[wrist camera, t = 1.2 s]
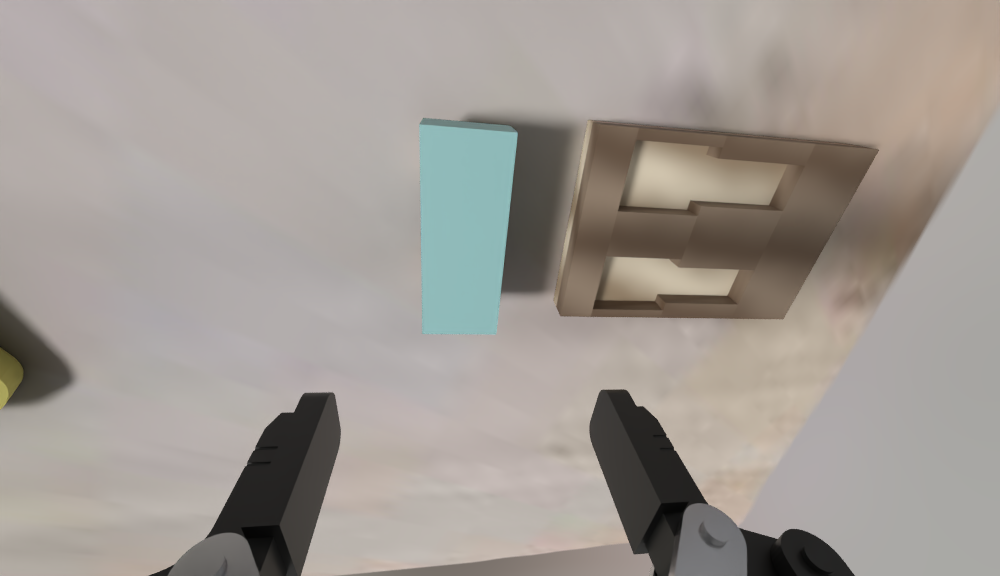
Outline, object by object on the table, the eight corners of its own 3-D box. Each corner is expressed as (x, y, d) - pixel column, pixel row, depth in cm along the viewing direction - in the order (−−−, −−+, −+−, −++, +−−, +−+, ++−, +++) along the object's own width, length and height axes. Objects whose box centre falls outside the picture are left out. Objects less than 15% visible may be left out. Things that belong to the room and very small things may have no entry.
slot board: (587, 120, 24) (600, 124, 22) (846, 144, 27) (879, 149, 25) (553, 300, 31) (560, 316, 29) (763, 304, 34) (783, 319, 32)
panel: (426, 113, 23) (419, 124, 18) (504, 120, 24) (517, 132, 19) (427, 292, 30) (422, 333, 25) (489, 293, 30) (496, 334, 26)
